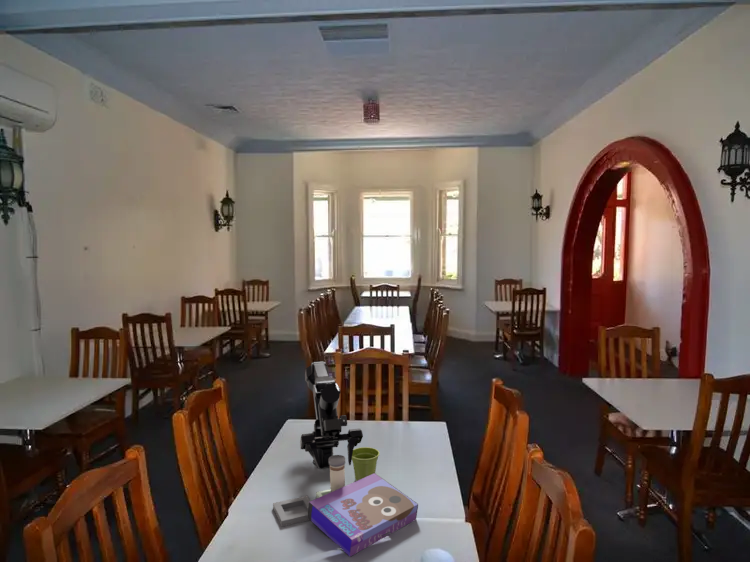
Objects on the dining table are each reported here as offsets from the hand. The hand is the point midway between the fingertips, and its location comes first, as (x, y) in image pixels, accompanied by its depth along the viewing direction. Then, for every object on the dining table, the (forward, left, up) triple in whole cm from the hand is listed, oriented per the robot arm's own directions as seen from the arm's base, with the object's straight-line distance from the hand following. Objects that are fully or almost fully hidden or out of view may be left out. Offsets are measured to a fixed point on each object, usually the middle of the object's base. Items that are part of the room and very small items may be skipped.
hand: (334, 466), depth 156 cm
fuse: (+5, -1, -8) cm, 10 cm away
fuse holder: (+6, -14, -9) cm, 18 cm away
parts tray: (+5, -1, -9) cm, 10 cm away
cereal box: (+14, +13, -5) cm, 20 cm away
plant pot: (-6, +12, -9) cm, 16 cm away
